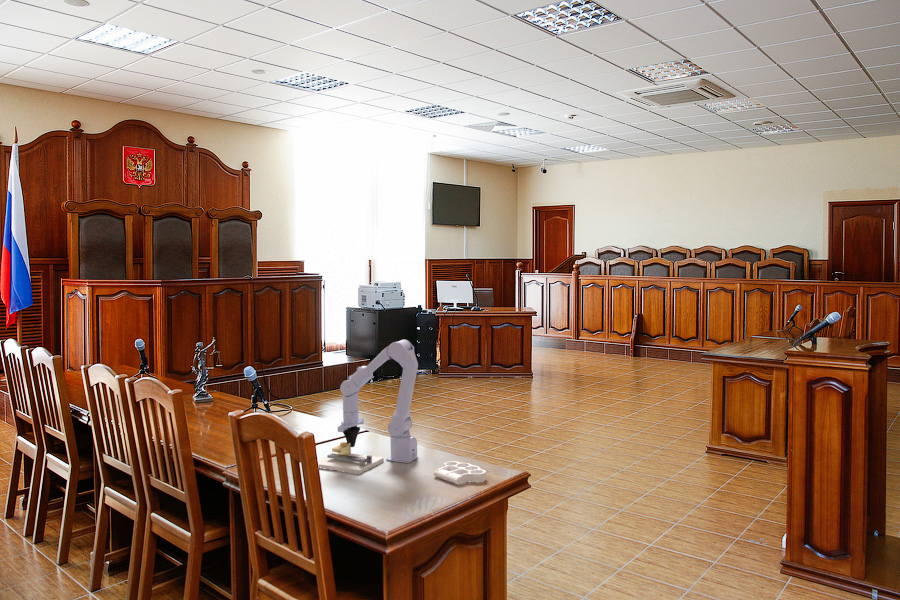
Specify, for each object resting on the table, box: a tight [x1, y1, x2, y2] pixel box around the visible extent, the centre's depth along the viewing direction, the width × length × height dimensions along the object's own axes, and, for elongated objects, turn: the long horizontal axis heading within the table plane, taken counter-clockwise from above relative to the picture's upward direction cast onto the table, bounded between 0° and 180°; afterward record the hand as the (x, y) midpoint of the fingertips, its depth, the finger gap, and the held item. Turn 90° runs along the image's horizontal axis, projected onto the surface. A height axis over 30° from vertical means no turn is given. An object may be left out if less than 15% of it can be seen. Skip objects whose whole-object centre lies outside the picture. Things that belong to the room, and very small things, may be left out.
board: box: [317, 452, 385, 475], centre depth 238 cm, size 20×16×4 cm
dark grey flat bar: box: [326, 452, 370, 463], centre depth 236 cm, size 16×3×1 cm, turn 64°
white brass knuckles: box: [433, 460, 487, 486], centre depth 223 cm, size 3×18×15 cm
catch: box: [331, 441, 352, 455], centre depth 244 cm, size 4×6×4 cm, turn 154°
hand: (351, 446), depth 249 cm, fingers closed
